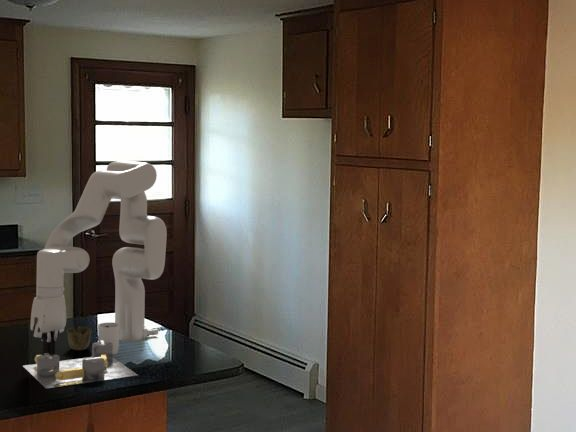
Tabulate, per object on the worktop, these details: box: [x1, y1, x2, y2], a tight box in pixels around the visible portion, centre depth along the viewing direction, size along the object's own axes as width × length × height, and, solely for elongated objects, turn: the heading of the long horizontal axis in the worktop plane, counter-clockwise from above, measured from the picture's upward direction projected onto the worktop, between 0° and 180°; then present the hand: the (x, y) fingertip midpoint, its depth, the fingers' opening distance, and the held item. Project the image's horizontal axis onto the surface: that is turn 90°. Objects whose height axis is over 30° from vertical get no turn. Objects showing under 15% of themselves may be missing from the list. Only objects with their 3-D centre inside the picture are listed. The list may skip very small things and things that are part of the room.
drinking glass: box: [97, 321, 120, 355], centre depth 253 cm, size 7×7×10 cm
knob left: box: [55, 356, 105, 382], centre depth 225 cm, size 14×6×6 cm, turn 123°
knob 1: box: [34, 353, 60, 378], centre depth 232 cm, size 14×6×6 cm, turn 33°
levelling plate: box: [22, 356, 138, 389], centre depth 234 cm, size 26×23×2 cm
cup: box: [66, 325, 92, 352], centre depth 255 cm, size 8×7×8 cm
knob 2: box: [91, 340, 114, 367], centre depth 240 cm, size 14×6×6 cm, turn 16°
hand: (48, 354), depth 238 cm, fingers closed
